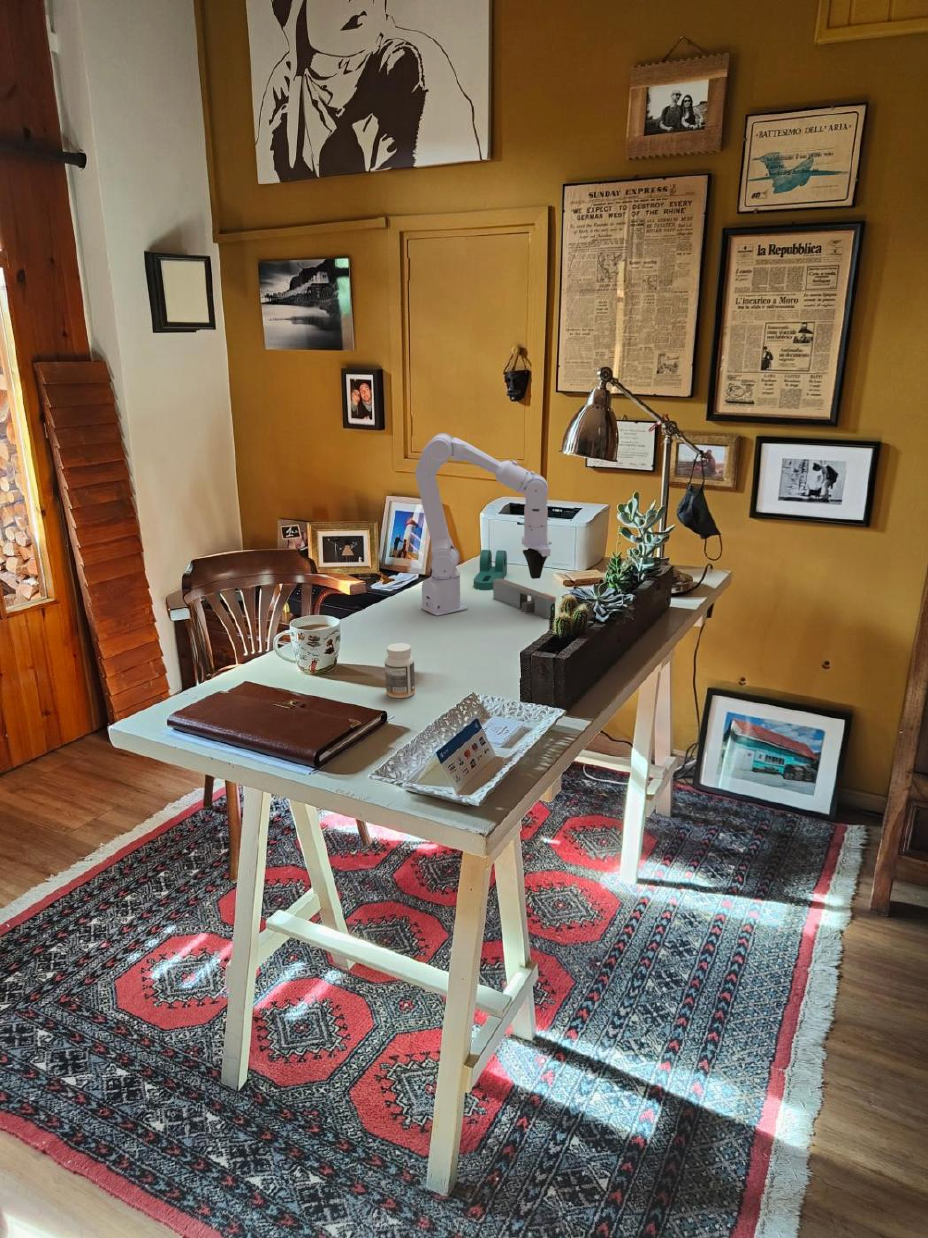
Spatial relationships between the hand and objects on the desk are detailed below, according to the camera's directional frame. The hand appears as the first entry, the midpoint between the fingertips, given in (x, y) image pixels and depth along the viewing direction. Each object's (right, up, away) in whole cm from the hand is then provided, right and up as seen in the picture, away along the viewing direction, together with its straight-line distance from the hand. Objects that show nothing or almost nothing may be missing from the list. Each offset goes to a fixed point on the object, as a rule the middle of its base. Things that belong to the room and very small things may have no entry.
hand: (535, 577), depth 224 cm
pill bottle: (-31, -25, -48) cm, 62 cm away
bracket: (-11, 0, +29) cm, 31 cm away
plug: (+1, -8, +3) cm, 9 cm away
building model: (-3, -7, +5) cm, 9 cm away
